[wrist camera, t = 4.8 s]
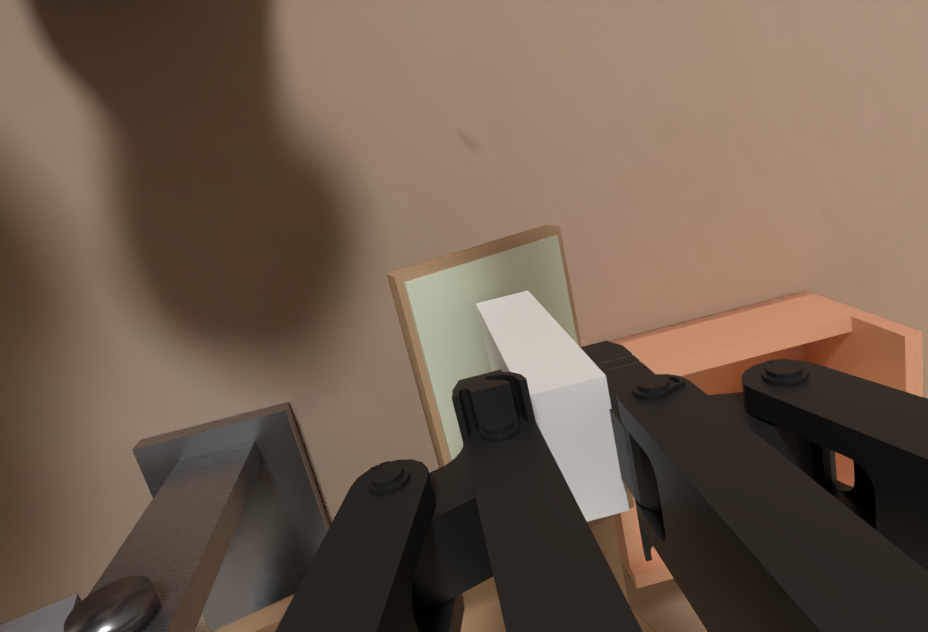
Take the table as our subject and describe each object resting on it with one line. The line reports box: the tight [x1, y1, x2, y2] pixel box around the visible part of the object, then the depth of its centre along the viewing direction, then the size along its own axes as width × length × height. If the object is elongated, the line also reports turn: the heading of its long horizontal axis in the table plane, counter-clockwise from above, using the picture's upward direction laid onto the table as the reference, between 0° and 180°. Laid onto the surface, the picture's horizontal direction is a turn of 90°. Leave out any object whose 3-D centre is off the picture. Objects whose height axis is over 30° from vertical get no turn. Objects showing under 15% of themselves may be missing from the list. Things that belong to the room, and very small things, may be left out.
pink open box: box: [609, 291, 923, 589], centre depth 24 cm, size 10×9×6 cm
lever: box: [0, 225, 656, 632], centre depth 18 cm, size 22×14×8 cm, turn 104°
